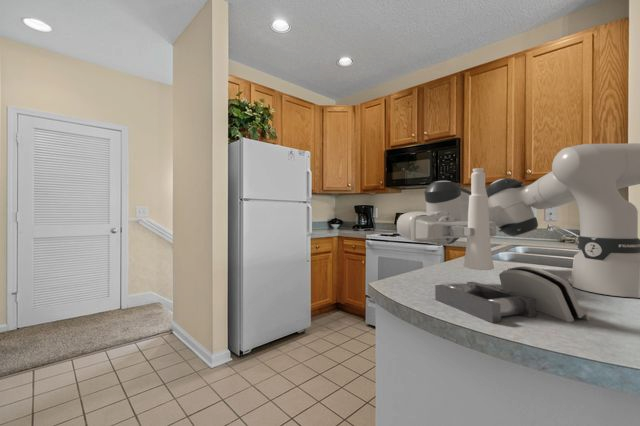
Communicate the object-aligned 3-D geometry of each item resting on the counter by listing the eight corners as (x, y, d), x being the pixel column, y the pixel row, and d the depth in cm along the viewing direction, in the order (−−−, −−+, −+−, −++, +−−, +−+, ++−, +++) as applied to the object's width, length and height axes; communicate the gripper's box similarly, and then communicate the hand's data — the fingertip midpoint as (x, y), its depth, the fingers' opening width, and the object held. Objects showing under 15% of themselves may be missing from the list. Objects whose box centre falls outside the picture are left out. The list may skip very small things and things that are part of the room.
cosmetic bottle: (499, 270, 63) (499, 166, 63) (469, 270, 64) (469, 167, 63) (486, 264, 69) (486, 170, 69) (459, 264, 70) (459, 170, 69)
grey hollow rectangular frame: (473, 295, 75) (473, 281, 75) (536, 316, 60) (536, 299, 60) (435, 299, 72) (435, 285, 72) (492, 323, 57) (492, 304, 57)
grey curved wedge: (591, 320, 58) (576, 273, 57) (571, 330, 57) (556, 282, 57) (521, 296, 74) (509, 259, 74) (505, 303, 74) (493, 266, 73)
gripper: (469, 238, 82) (517, 243, 69) (406, 241, 75) (444, 247, 62) (469, 215, 82) (517, 216, 69) (406, 216, 75) (444, 217, 62)
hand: (482, 231), depth 65 cm, fingers closed on cosmetic bottle, 4 cm apart
